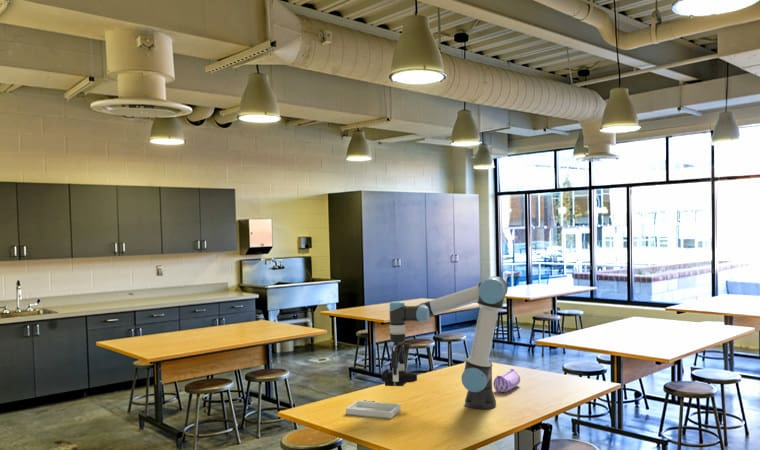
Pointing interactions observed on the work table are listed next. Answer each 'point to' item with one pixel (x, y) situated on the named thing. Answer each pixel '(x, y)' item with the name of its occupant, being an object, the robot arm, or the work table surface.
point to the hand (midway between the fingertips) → (398, 379)
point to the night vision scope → (403, 378)
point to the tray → (373, 409)
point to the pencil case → (506, 381)
